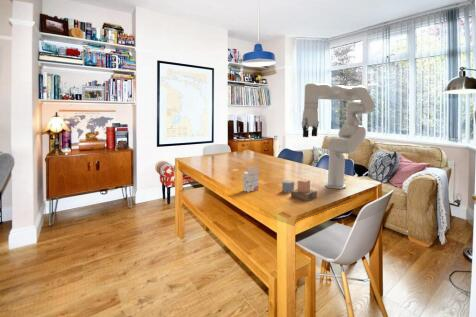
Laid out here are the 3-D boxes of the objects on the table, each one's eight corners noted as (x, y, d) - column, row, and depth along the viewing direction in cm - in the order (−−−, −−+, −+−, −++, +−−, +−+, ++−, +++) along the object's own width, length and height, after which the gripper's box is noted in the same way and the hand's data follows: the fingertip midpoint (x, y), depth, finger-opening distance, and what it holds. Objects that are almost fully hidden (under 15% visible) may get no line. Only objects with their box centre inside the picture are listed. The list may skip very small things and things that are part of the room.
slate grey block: (287, 189, 157) (287, 180, 156) (293, 191, 154) (294, 181, 153) (282, 191, 154) (282, 181, 153) (289, 193, 150) (289, 183, 149)
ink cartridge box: (253, 188, 161) (253, 165, 159) (258, 190, 157) (258, 166, 155) (242, 190, 156) (242, 167, 153) (247, 192, 152) (247, 168, 150)
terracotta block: (301, 189, 145) (301, 179, 144) (309, 190, 142) (310, 180, 141) (297, 191, 141) (297, 180, 140) (306, 192, 138) (306, 182, 137)
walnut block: (302, 194, 149) (302, 187, 148) (316, 198, 141) (317, 191, 141) (291, 197, 143) (291, 190, 142) (305, 202, 135) (305, 194, 134)
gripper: (312, 106, 151) (311, 135, 154) (296, 106, 139) (296, 137, 142) (324, 106, 146) (323, 136, 149) (309, 105, 134) (308, 138, 137)
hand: (310, 136), depth 145 cm, fingers open, 9 cm apart
